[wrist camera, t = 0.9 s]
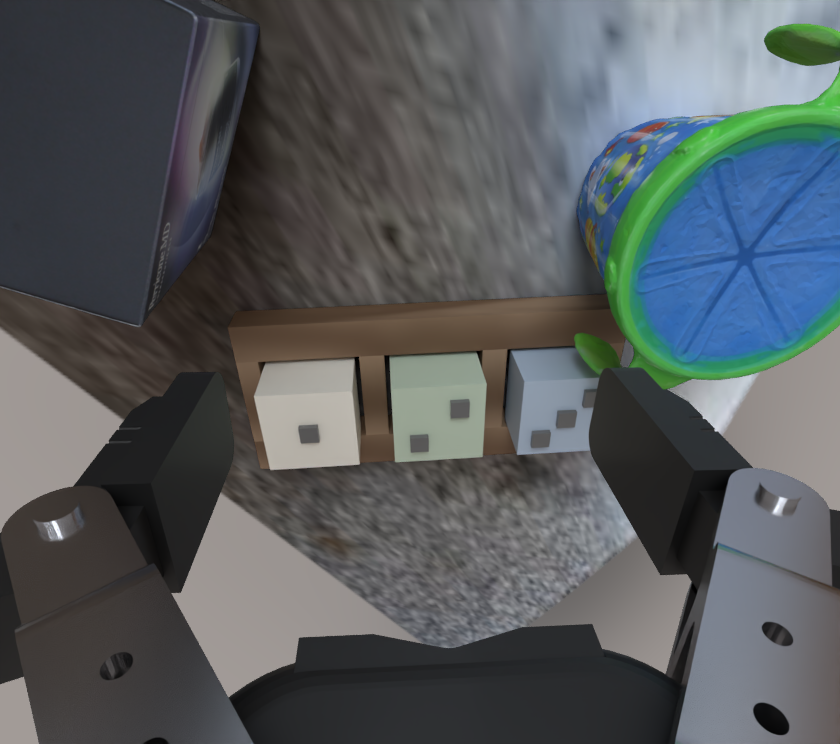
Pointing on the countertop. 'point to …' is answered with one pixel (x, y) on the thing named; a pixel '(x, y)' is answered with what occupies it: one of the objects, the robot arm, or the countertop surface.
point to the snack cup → (721, 232)
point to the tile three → (549, 400)
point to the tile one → (309, 413)
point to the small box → (114, 144)
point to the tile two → (437, 406)
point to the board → (414, 349)
